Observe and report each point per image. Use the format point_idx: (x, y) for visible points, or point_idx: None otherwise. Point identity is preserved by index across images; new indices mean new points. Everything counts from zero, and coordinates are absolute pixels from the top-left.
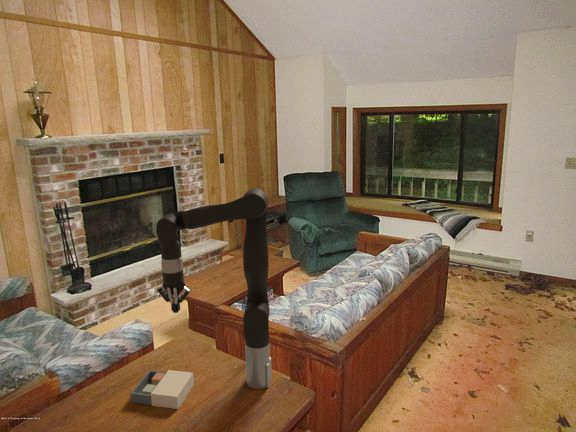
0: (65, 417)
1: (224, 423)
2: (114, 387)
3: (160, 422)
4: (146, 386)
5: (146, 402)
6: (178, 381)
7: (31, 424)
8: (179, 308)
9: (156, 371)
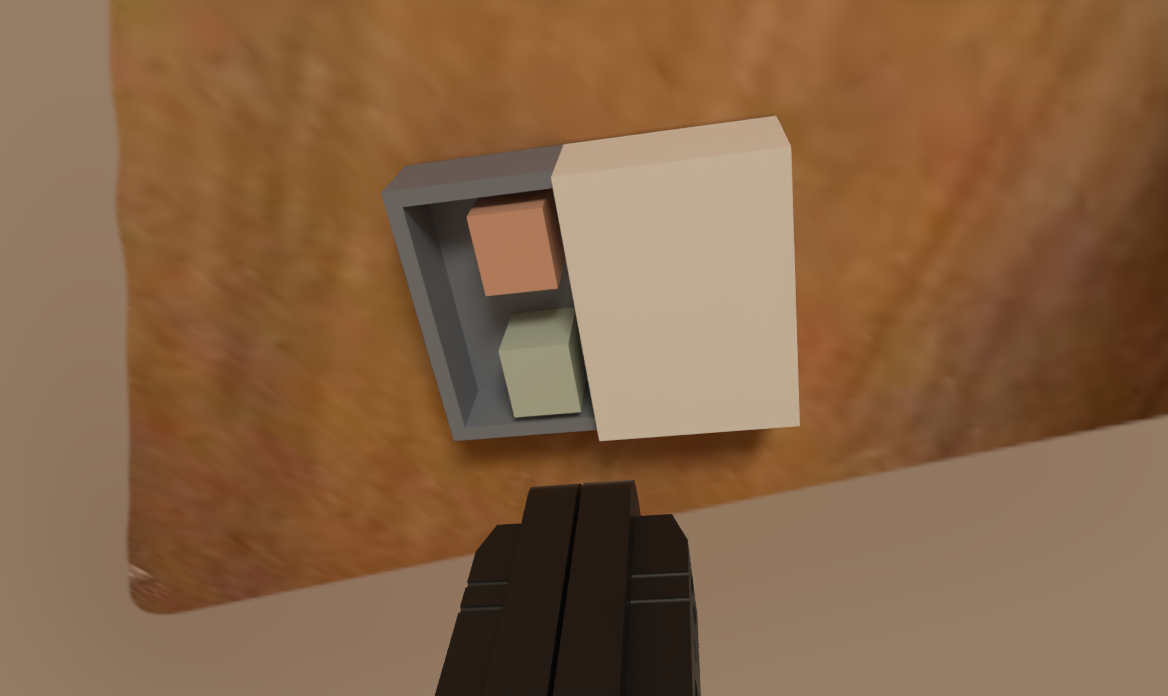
0: (242, 546)
1: (1136, 395)
2: (250, 308)
3: (733, 472)
4: (510, 373)
5: None
6: (721, 285)
7: (153, 603)
8: (679, 575)
9: (447, 192)
